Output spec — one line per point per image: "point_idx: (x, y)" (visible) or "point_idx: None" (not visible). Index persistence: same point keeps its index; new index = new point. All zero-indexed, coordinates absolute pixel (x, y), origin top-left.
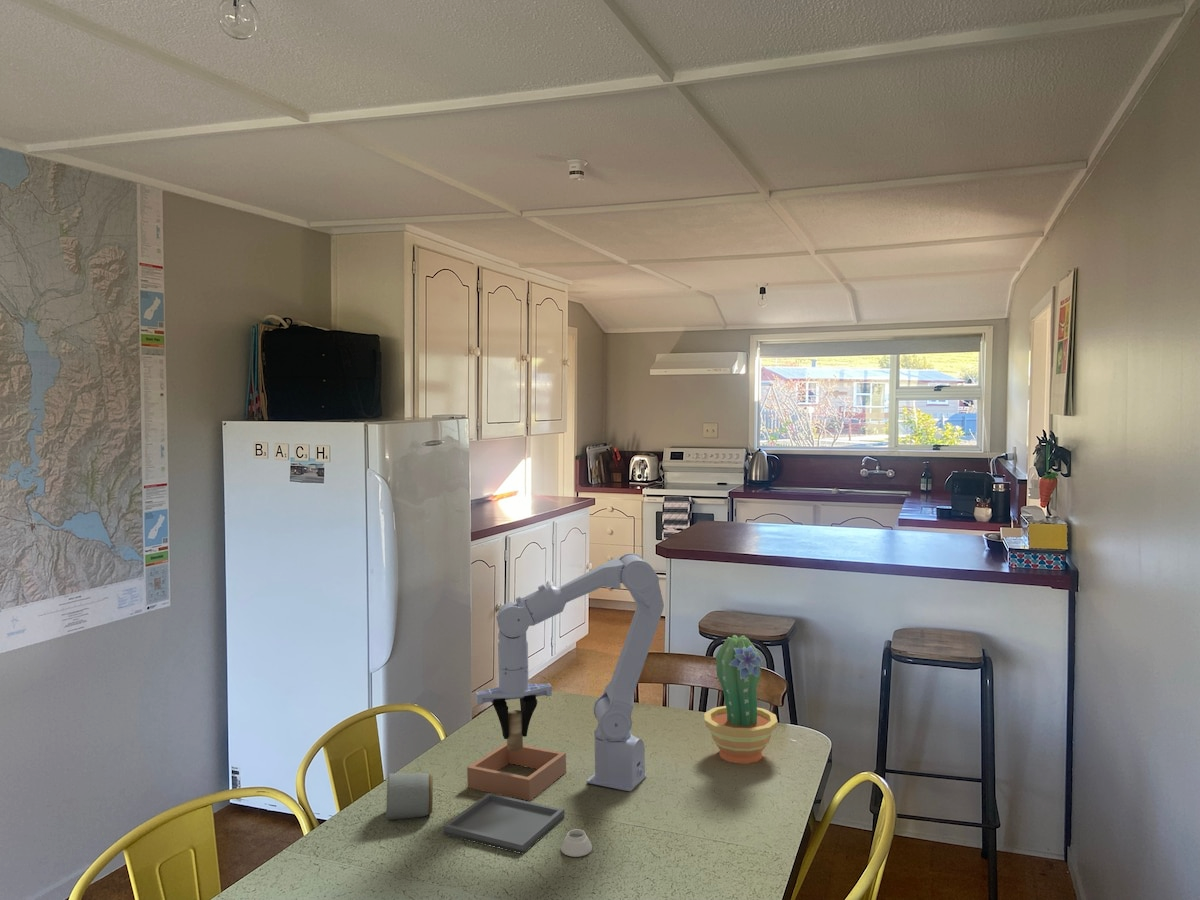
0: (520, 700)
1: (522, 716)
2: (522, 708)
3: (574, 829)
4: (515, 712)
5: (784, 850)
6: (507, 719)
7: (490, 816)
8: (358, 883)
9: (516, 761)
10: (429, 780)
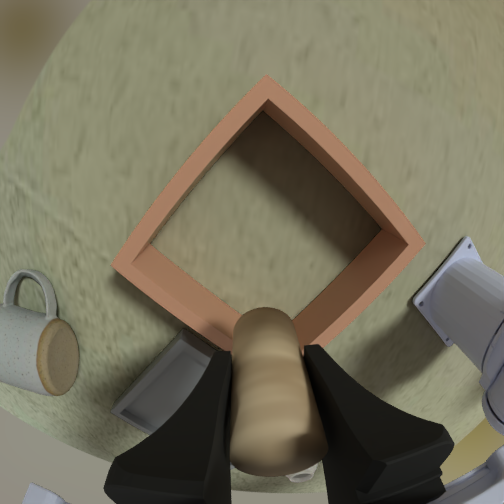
0: (357, 461)
1: (326, 421)
2: (336, 461)
3: (303, 473)
4: (286, 457)
5: (456, 443)
6: (229, 469)
7: (185, 396)
8: (60, 436)
9: (286, 128)
10: (49, 392)
